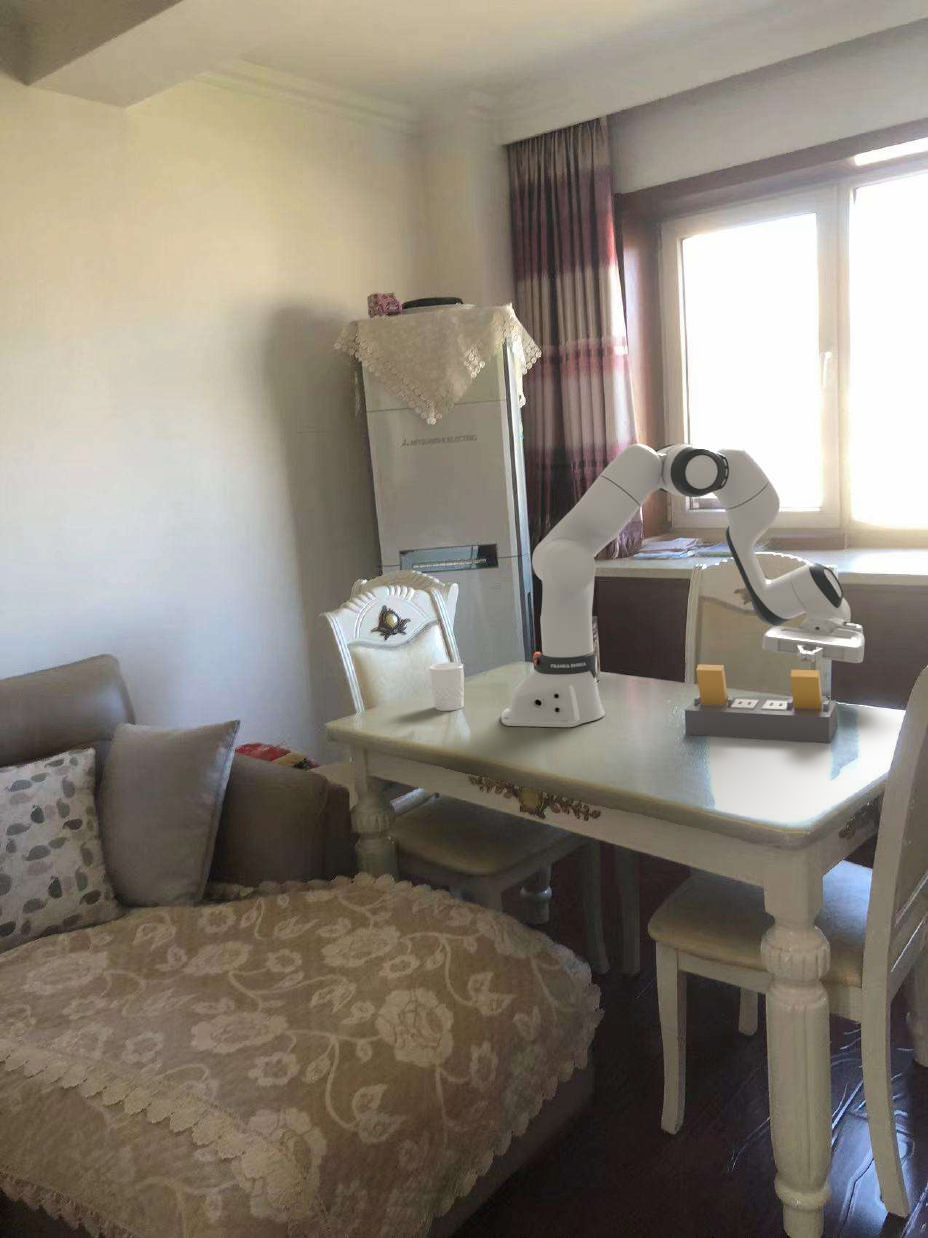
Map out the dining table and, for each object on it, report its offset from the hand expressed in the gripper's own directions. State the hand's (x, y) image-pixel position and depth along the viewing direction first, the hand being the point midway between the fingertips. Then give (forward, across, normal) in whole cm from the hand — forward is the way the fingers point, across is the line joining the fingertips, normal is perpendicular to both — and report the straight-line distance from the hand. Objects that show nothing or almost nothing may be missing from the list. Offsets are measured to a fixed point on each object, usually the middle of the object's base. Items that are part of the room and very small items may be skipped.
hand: (805, 658), depth 203 cm
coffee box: (-12, -54, +20) cm, 59 cm away
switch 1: (+15, -14, +6) cm, 22 cm away
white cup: (+17, -76, +18) cm, 80 cm away
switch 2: (+14, +4, +4) cm, 15 cm away
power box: (+15, -5, +10) cm, 19 cm away
